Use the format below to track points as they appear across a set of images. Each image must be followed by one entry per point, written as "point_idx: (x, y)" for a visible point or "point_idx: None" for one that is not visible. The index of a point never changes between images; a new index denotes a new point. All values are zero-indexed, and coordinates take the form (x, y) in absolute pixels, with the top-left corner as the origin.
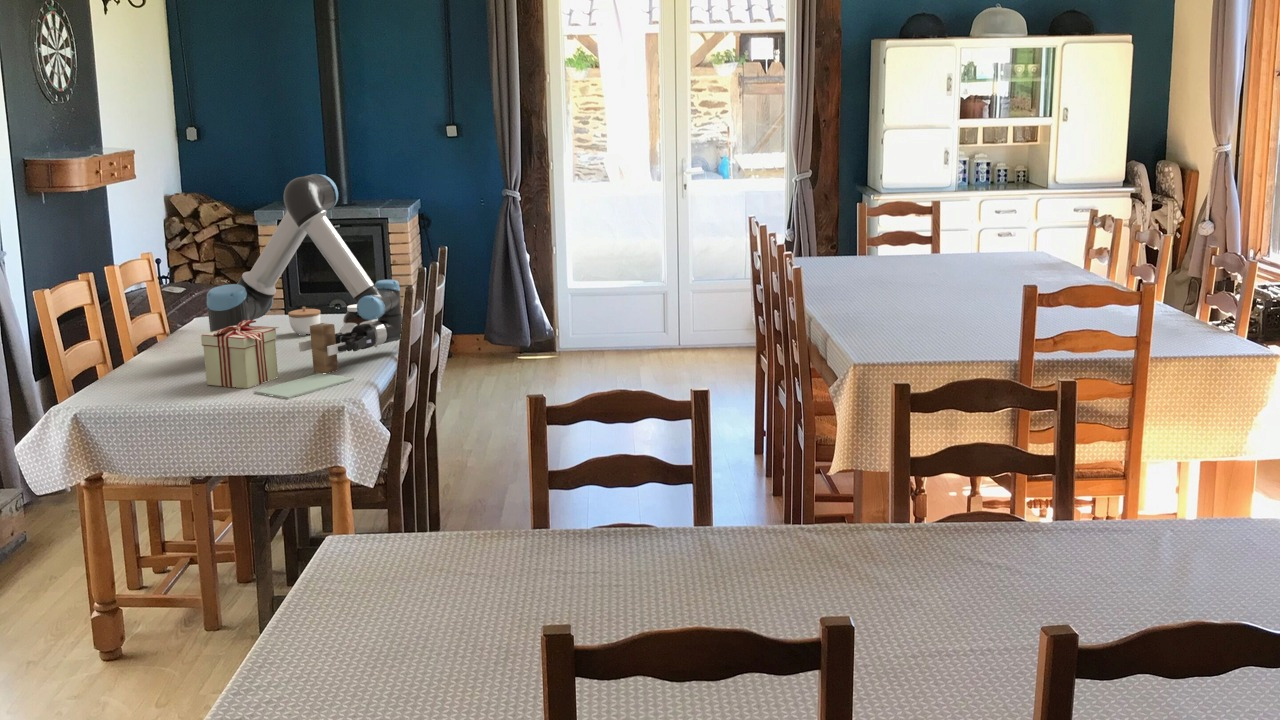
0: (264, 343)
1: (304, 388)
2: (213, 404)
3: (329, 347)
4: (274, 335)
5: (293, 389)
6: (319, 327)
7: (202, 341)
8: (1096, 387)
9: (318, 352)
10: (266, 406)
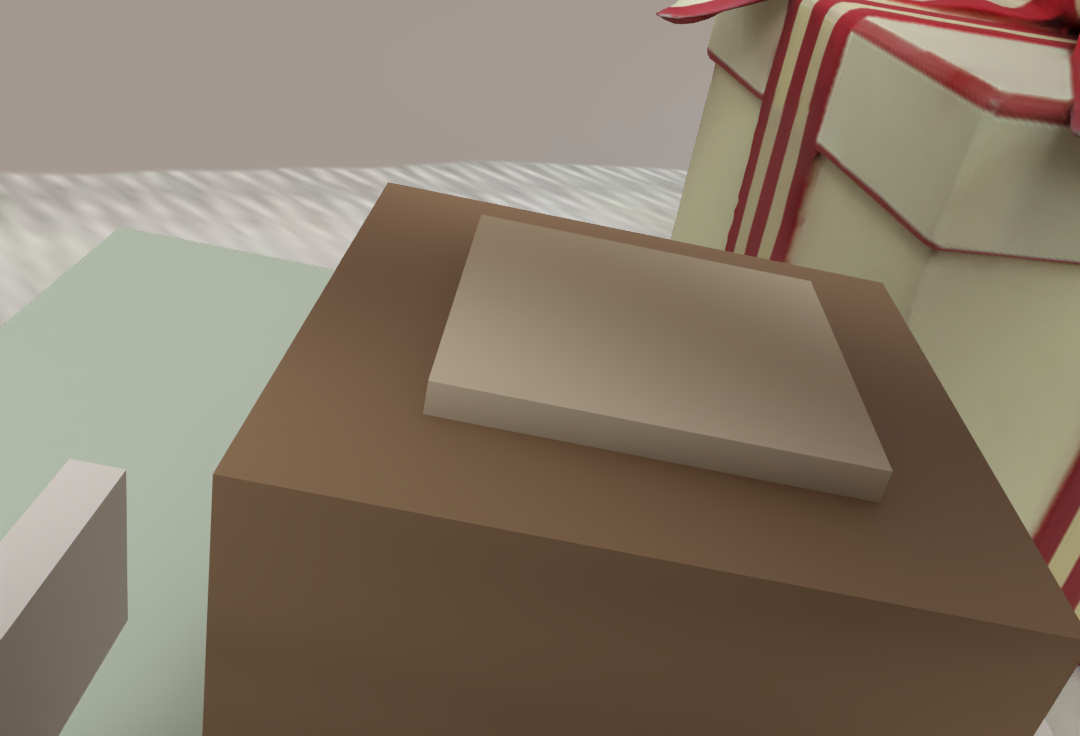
0: (830, 170)
1: (111, 350)
2: (515, 199)
3: (62, 485)
4: (932, 176)
5: (201, 331)
6: (472, 209)
7: None
8: None
9: None
10: (181, 173)
